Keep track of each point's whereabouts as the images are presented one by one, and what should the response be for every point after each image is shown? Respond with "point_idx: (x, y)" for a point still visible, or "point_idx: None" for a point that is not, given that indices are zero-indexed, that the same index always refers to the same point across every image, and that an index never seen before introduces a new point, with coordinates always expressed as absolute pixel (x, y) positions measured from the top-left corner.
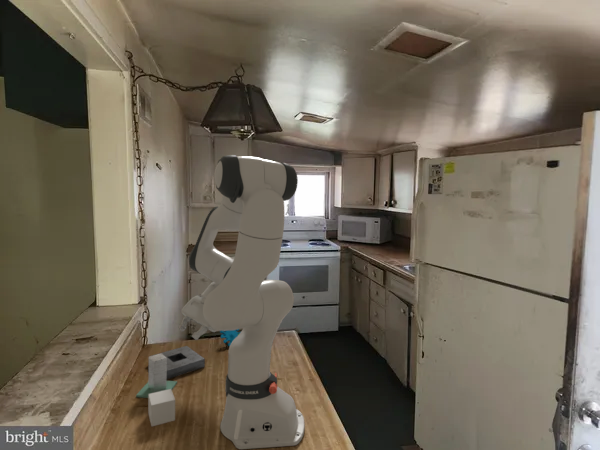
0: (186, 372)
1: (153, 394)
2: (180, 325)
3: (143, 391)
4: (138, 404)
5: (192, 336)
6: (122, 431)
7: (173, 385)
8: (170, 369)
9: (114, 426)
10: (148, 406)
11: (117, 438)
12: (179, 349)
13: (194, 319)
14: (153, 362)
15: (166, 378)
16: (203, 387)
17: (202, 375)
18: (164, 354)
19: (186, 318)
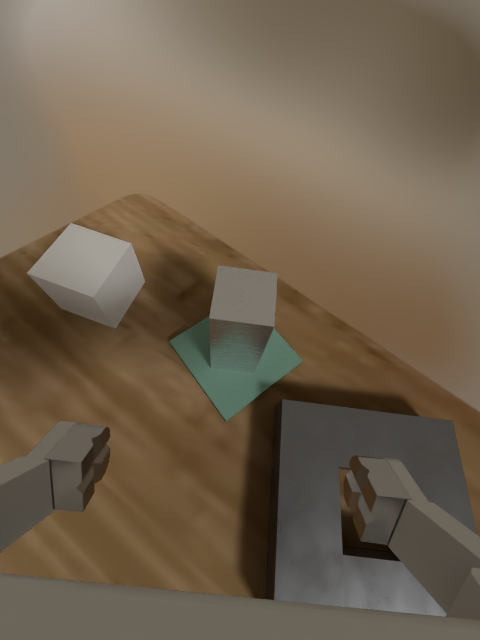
0: (271, 499)
1: (114, 249)
2: (398, 478)
3: None
4: (205, 286)
5: (90, 424)
6: (136, 224)
7: (210, 395)
8: (283, 419)
9: (166, 222)
10: (138, 267)
11: (124, 211)
12: None
13: (188, 595)
14: (220, 268)
15: (210, 355)
16: (119, 480)
17: (201, 545)
18: (439, 480)
19: (475, 604)
